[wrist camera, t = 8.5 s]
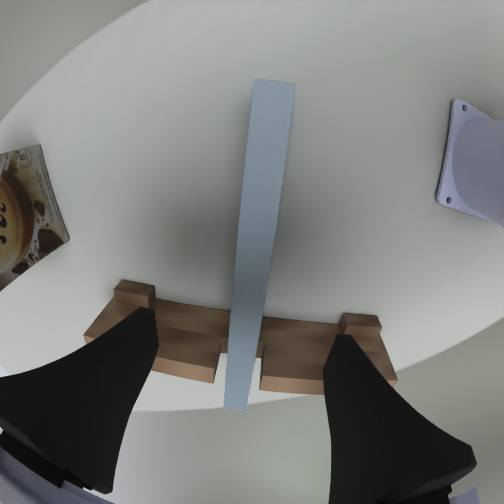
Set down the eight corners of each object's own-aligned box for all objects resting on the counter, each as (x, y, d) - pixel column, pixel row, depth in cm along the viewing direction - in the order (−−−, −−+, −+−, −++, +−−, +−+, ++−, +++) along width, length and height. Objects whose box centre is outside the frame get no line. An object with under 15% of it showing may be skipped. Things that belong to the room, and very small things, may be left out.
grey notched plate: (260, 97, 15) (254, 78, 9) (287, 100, 15) (295, 83, 9) (233, 352, 23) (223, 407, 18) (251, 355, 23) (245, 410, 18)
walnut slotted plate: (382, 316, 20) (405, 368, 15) (365, 350, 22) (381, 403, 17) (116, 278, 21) (79, 322, 15) (123, 316, 23) (92, 361, 17)
